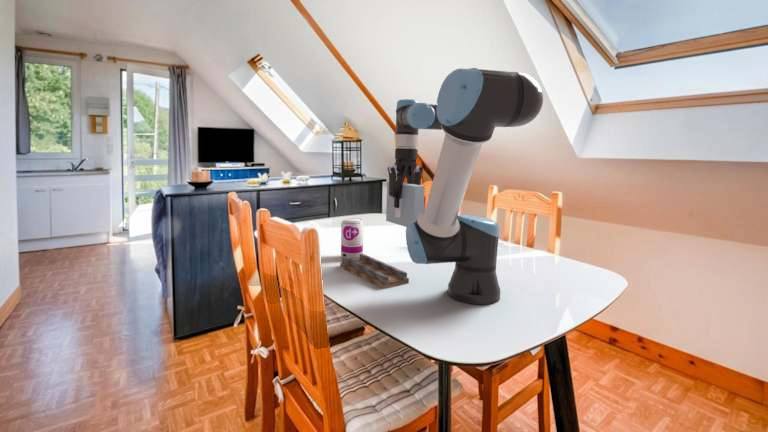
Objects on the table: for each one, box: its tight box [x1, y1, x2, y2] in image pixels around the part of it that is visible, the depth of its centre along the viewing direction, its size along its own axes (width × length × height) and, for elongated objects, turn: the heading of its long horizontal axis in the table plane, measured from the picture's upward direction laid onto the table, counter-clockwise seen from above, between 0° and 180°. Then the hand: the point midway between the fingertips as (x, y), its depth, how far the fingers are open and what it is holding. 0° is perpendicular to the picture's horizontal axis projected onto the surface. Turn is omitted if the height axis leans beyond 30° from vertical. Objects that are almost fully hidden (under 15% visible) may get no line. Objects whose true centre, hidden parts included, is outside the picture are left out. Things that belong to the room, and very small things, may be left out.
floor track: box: [339, 253, 410, 290], centre depth 136 cm, size 26×10×4 cm, turn 36°
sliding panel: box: [385, 181, 426, 228], centre depth 139 cm, size 16×4×14 cm, turn 34°
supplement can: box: [340, 217, 364, 260], centre depth 153 cm, size 8×8×15 cm
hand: (404, 216), depth 140 cm, fingers closed on sliding panel, 4 cm apart
